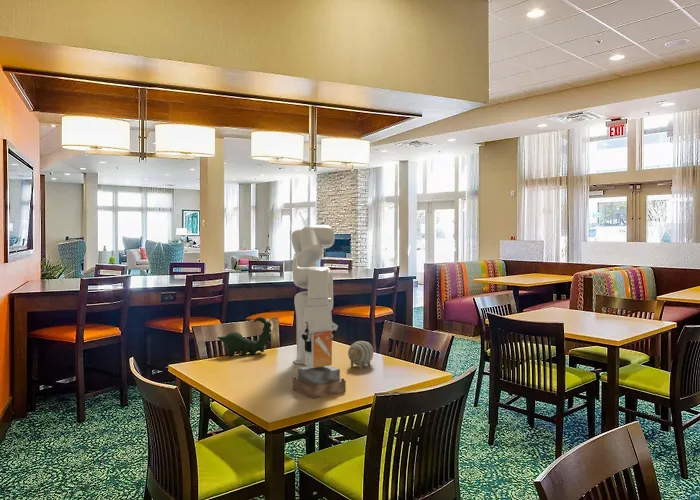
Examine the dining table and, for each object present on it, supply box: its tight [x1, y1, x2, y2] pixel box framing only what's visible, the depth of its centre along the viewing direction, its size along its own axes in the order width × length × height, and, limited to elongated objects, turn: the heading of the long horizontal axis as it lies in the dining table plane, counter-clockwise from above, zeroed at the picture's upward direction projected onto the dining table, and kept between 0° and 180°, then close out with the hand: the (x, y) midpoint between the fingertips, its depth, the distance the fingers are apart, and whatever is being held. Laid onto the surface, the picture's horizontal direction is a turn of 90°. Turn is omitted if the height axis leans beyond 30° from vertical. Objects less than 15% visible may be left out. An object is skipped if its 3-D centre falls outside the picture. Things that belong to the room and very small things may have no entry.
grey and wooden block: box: [292, 365, 347, 400], centre depth 188 cm, size 14×14×8 cm
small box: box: [304, 330, 333, 368], centre depth 188 cm, size 8×6×13 cm
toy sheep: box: [347, 340, 374, 370], centre depth 223 cm, size 11×17×11 cm, turn 153°
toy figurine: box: [217, 316, 273, 356], centre depth 247 cm, size 9×19×25 cm
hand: (318, 349), depth 188 cm, fingers closed on small box, 8 cm apart
